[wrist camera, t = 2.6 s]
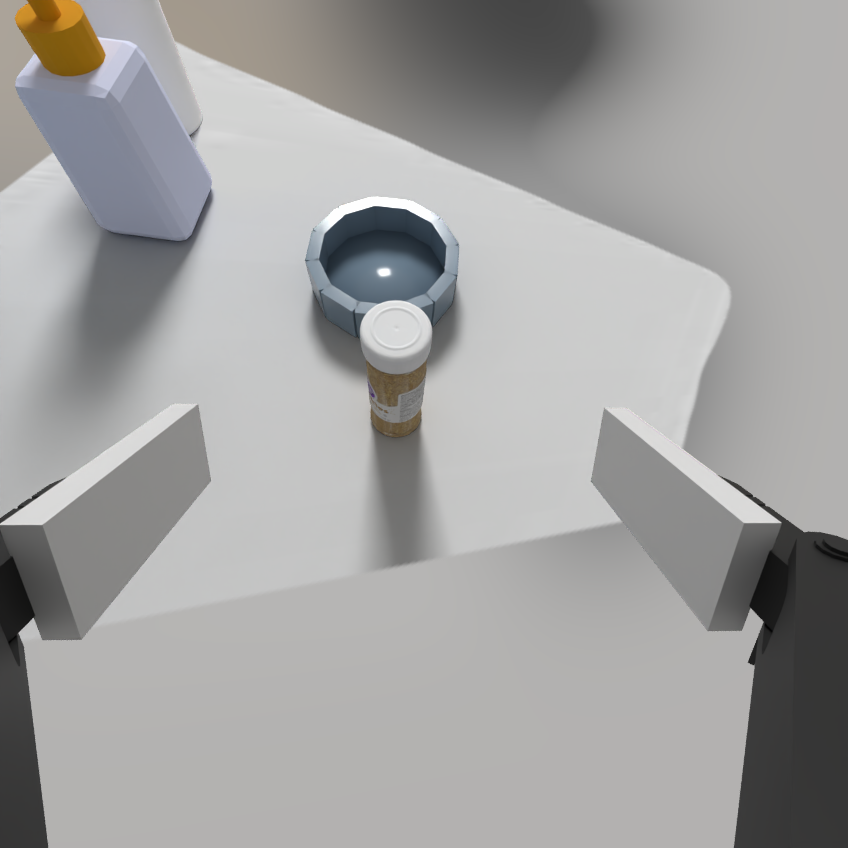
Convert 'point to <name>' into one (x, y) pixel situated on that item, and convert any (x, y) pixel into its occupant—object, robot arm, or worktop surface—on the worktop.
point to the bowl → (381, 260)
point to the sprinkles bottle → (396, 364)
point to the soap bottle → (110, 125)
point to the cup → (148, 47)
